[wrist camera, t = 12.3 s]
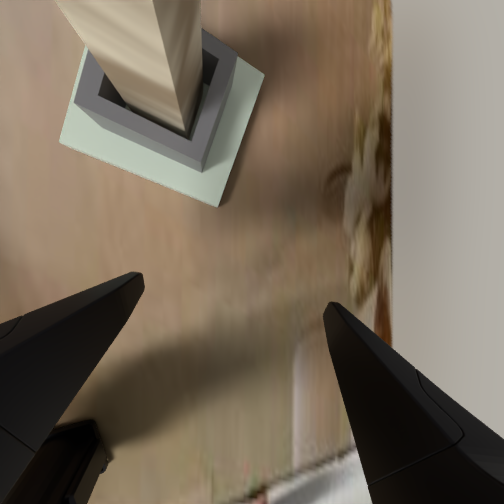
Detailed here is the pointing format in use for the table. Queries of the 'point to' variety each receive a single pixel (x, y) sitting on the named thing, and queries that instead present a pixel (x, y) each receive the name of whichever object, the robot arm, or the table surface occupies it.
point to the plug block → (147, 54)
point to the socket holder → (160, 139)
